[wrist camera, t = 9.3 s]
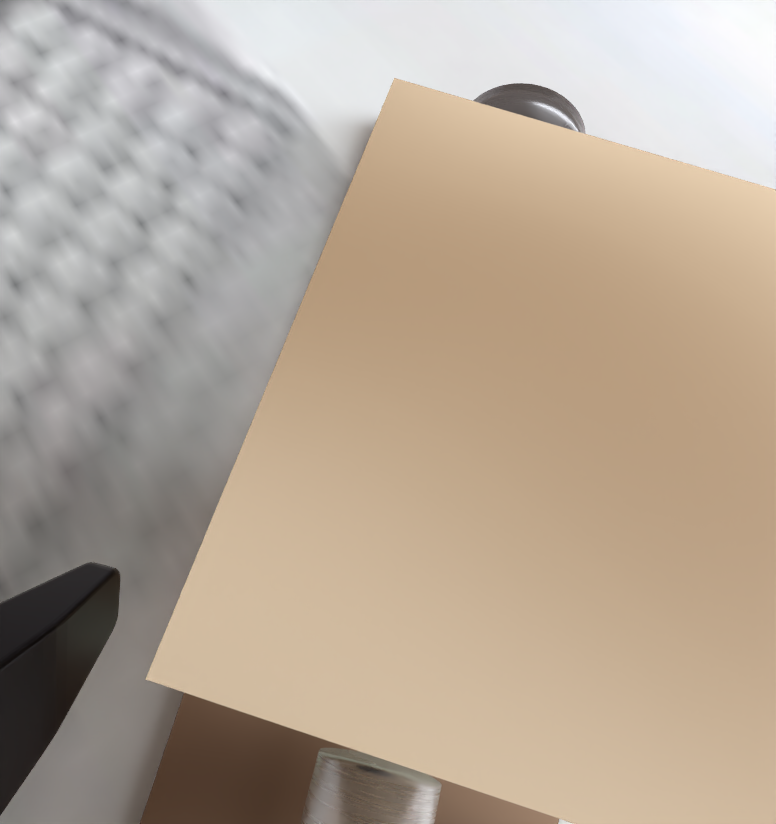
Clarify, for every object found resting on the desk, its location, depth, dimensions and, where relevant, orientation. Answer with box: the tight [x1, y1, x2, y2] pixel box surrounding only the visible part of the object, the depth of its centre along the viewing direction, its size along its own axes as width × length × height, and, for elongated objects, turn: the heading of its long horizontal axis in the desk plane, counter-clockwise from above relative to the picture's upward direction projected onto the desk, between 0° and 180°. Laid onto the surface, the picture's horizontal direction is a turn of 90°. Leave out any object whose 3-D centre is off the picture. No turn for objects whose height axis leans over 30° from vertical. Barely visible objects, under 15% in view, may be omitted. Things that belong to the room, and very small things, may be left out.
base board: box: [140, 106, 559, 824], centre depth 18 cm, size 34×10×2 cm, turn 165°
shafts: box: [300, 83, 585, 824], centre depth 15 cm, size 28×4×5 cm, turn 165°
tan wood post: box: [146, 78, 776, 824], centre depth 10 cm, size 5×4×14 cm
